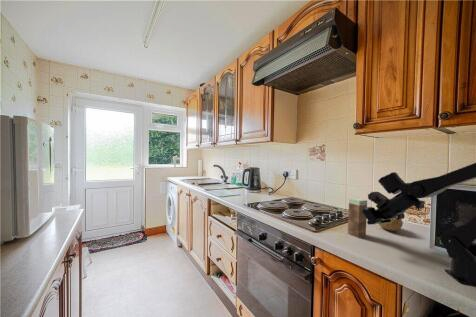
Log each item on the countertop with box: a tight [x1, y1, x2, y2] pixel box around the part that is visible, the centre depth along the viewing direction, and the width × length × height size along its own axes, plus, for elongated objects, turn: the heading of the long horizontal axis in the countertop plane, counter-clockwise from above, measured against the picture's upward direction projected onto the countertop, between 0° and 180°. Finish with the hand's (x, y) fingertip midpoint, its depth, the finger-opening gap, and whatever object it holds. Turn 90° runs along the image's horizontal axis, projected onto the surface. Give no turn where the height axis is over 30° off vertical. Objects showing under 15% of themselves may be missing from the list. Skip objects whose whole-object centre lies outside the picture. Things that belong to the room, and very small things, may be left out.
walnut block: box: [347, 197, 368, 239], centre depth 90 cm, size 5×5×16 cm
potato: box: [378, 217, 404, 232], centre depth 98 cm, size 10×14×8 cm
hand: (368, 223), depth 85 cm, fingers closed
